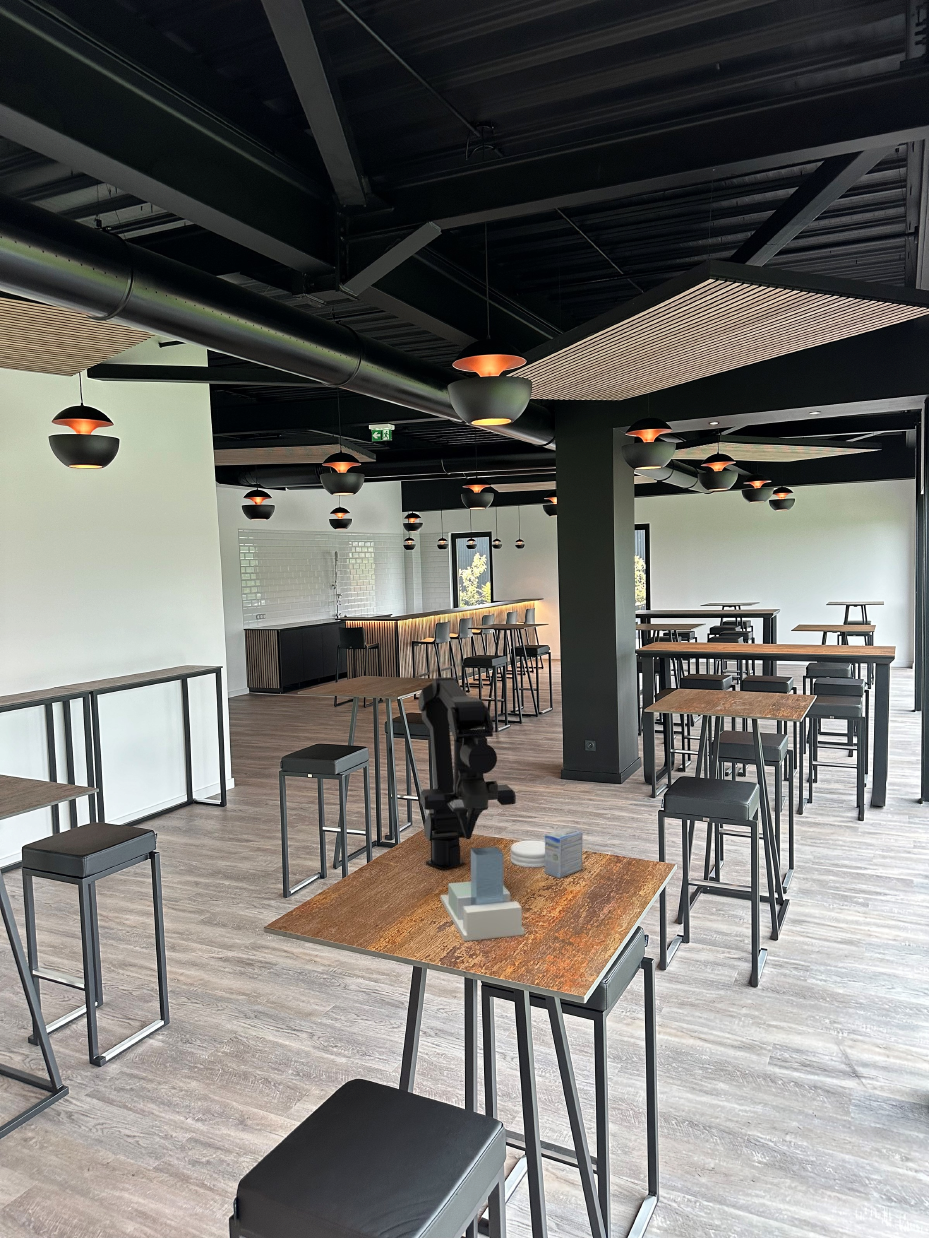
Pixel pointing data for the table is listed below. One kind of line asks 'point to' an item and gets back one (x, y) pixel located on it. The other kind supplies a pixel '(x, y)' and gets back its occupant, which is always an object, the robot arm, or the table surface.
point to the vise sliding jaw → (465, 897)
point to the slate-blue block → (486, 876)
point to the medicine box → (563, 852)
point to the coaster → (528, 854)
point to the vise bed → (487, 920)
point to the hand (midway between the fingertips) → (467, 838)
